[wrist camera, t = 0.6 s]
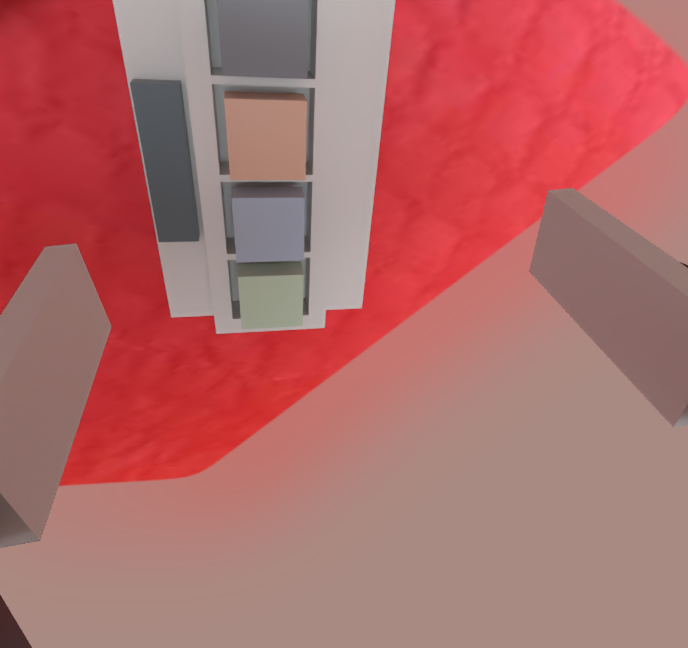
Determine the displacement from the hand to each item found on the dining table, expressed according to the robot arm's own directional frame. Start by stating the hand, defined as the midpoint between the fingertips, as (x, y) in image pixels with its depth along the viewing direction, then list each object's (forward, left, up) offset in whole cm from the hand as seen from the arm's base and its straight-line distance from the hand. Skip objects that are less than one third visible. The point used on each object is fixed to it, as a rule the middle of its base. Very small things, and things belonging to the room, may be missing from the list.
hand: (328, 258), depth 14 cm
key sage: (-1, -11, -16) cm, 19 cm away
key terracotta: (-1, -1, -16) cm, 16 cm away
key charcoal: (-1, +4, -16) cm, 17 cm away
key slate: (-1, -6, -16) cm, 17 cm away
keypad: (-1, -3, -18) cm, 18 cm away
